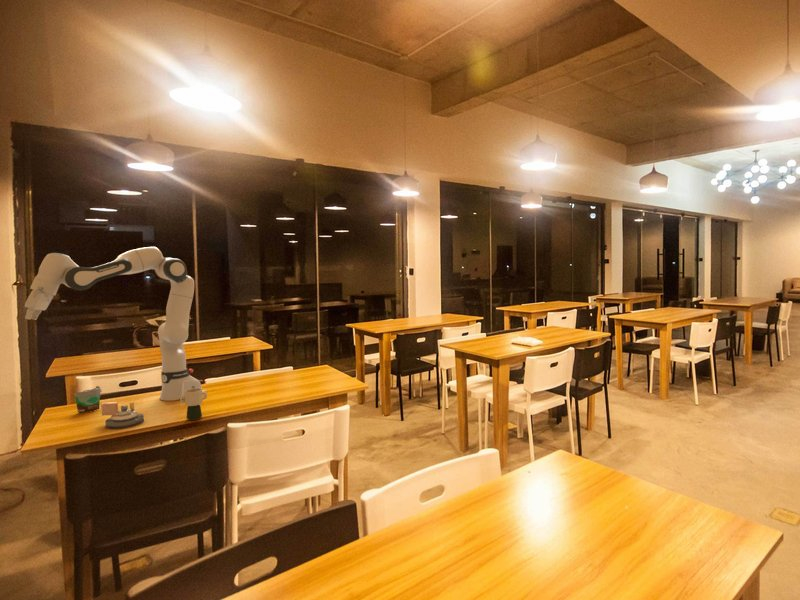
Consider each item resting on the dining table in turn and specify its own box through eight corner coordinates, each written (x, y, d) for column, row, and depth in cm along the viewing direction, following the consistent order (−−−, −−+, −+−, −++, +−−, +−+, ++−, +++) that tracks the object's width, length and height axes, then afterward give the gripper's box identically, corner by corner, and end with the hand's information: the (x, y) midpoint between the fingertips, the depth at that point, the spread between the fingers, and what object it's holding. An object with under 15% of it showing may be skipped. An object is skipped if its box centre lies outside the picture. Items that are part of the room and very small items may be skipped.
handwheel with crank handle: (130, 416, 199) (129, 399, 198) (151, 420, 193) (150, 403, 192) (98, 425, 186) (97, 408, 185) (119, 430, 180) (118, 412, 179)
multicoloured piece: (142, 413, 194) (141, 398, 194) (130, 421, 185) (129, 405, 184) (109, 414, 193) (108, 399, 193) (96, 422, 184) (95, 406, 183)
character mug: (205, 414, 200) (204, 386, 199) (209, 418, 194) (208, 389, 194) (178, 419, 193) (177, 390, 192) (182, 423, 188) (181, 393, 187)
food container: (86, 414, 201) (84, 393, 200) (74, 414, 202) (73, 392, 201) (109, 406, 213) (107, 386, 212) (98, 406, 214) (97, 385, 213)
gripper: (47, 289, 180) (33, 321, 177) (57, 292, 198) (44, 321, 195) (28, 283, 177) (14, 316, 174) (41, 287, 195) (27, 317, 192)
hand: (30, 319), depth 185 cm, fingers open, 8 cm apart
